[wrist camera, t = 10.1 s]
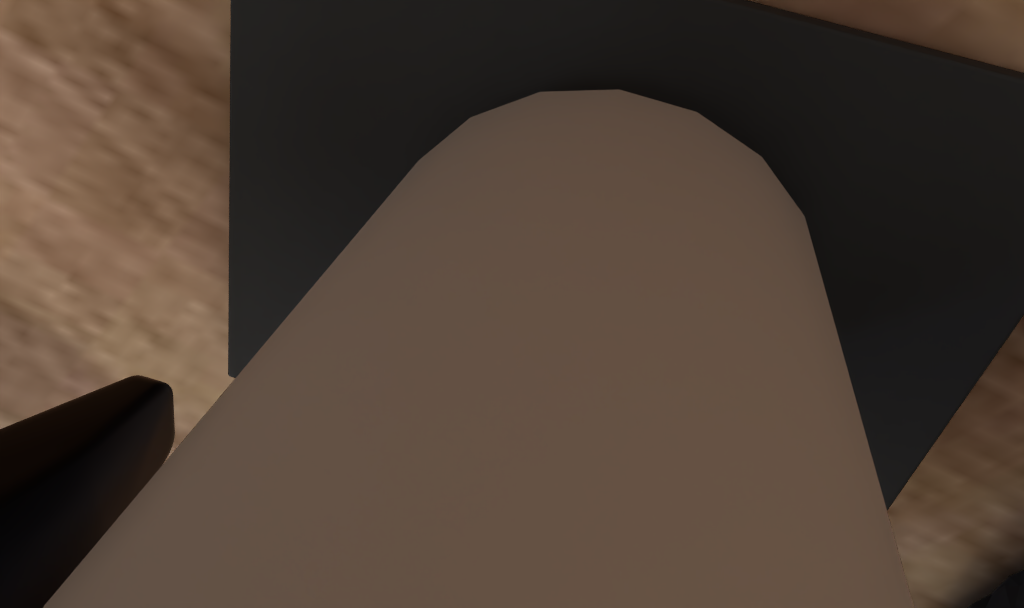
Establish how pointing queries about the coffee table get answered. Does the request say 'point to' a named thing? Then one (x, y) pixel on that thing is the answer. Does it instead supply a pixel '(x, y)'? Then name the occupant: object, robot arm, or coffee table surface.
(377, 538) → the can
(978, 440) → the coffee table surface
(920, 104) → the mat
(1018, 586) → the sculpture
